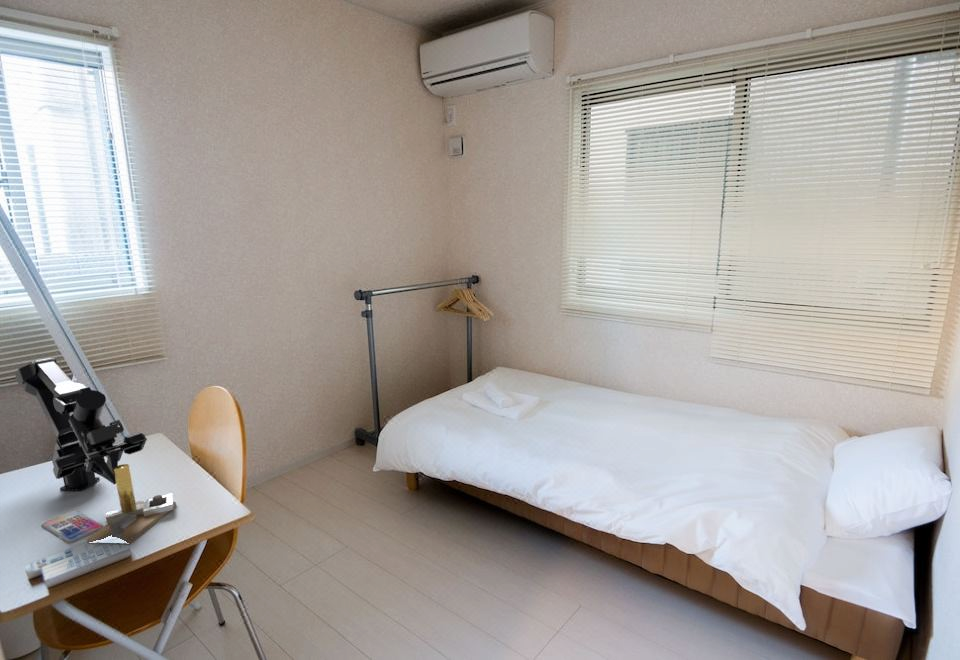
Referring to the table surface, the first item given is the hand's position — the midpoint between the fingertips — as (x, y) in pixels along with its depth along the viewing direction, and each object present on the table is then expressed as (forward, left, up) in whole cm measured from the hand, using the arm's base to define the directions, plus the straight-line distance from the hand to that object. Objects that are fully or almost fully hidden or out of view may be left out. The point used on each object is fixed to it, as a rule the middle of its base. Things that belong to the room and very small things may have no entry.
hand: (116, 482), depth 127 cm
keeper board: (+6, -4, -8) cm, 11 cm away
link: (+6, -1, -7) cm, 9 cm away
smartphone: (-8, -6, -9) cm, 13 cm away
